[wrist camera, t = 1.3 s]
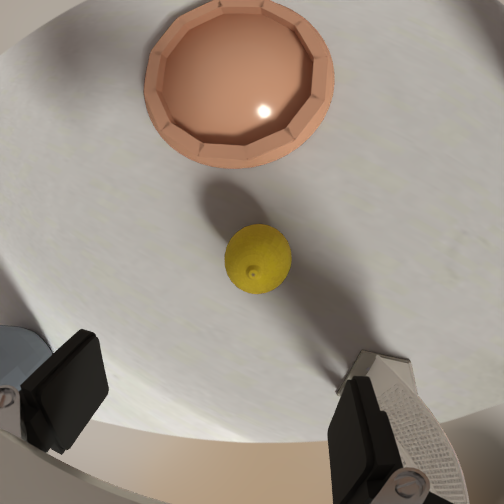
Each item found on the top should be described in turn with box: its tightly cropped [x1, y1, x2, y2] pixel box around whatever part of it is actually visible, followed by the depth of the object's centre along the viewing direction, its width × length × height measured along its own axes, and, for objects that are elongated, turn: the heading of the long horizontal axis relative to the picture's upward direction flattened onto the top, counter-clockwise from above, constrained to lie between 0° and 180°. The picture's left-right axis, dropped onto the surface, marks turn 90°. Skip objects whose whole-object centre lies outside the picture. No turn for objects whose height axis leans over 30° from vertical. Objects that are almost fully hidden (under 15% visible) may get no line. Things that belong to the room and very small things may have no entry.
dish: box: [144, 0, 334, 169], centre depth 24 cm, size 18×18×2 cm
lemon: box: [225, 224, 292, 294], centre depth 25 cm, size 6×6×8 cm
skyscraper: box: [337, 350, 469, 504], centre depth 19 cm, size 8×8×28 cm
